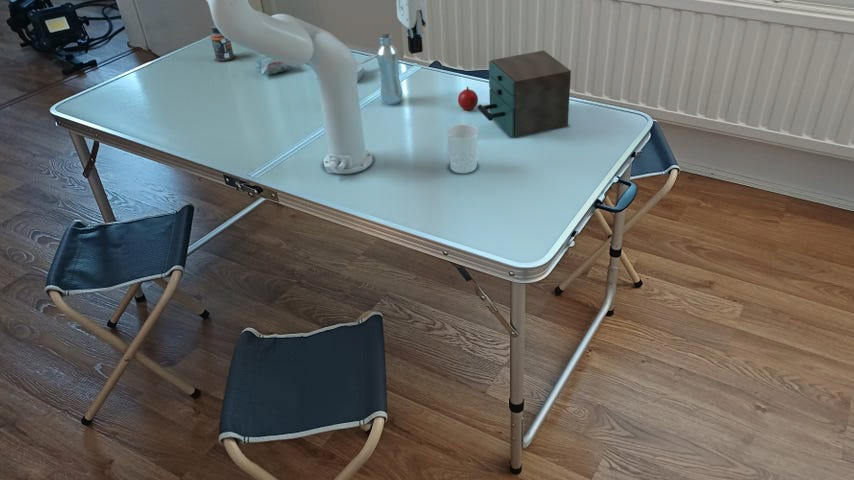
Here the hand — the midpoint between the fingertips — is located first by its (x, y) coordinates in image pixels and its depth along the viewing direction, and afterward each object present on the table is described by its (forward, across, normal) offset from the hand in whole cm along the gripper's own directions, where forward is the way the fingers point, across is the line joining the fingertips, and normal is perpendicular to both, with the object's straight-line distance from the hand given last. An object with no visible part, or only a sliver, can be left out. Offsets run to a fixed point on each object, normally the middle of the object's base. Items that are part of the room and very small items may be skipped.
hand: (415, 51), depth 180 cm
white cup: (+25, +17, +5) cm, 31 cm away
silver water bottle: (+25, -28, 0) cm, 38 cm away
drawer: (+25, 0, +28) cm, 37 cm away
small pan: (+25, -53, -4) cm, 59 cm away
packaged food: (+25, -67, -28) cm, 77 cm away
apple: (+25, -14, +19) cm, 34 cm away
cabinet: (+25, 0, +32) cm, 40 cm away
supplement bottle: (+25, -87, -42) cm, 100 cm away
